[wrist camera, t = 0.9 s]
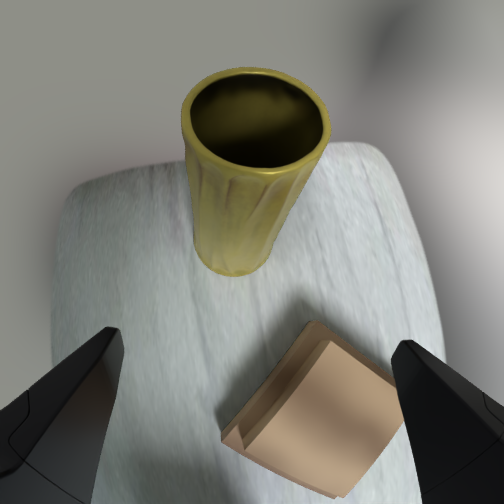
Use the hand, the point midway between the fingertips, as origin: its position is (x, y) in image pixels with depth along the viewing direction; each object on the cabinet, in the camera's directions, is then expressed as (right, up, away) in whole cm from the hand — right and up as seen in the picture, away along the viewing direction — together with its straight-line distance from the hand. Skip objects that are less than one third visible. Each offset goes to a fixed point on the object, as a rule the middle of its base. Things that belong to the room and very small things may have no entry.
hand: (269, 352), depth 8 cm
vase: (-2, +4, +15) cm, 15 cm away
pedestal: (+5, -10, +11) cm, 16 cm away
